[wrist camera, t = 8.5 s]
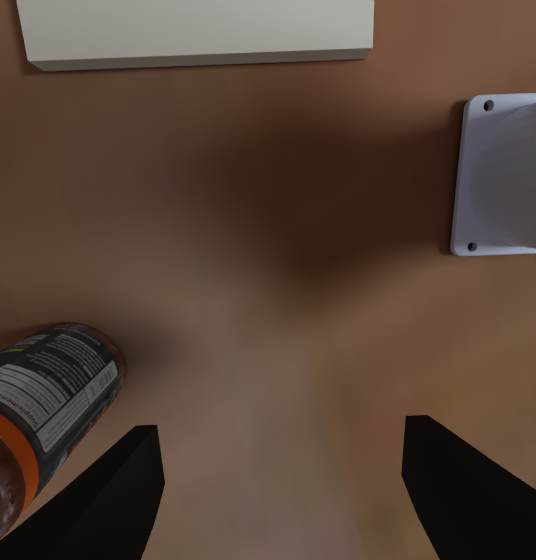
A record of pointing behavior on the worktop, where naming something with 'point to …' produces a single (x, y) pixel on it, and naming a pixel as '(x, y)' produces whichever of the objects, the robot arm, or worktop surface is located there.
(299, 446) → the worktop surface
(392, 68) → the worktop surface
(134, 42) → the pin board
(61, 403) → the supplement bottle
